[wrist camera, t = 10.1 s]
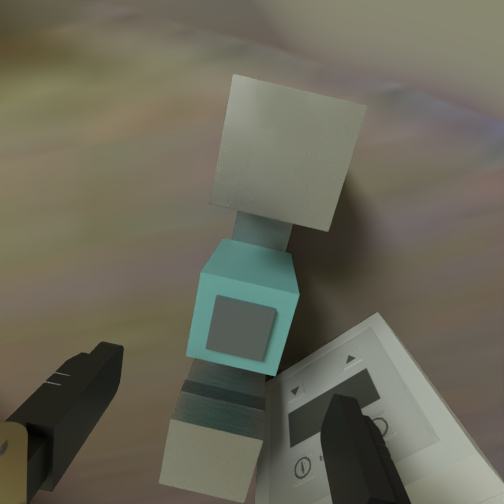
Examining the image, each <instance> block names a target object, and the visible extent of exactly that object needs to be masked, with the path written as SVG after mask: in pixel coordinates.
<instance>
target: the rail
mask: <svg viewBox="0 0 504 504" xmlns="http://www.w3.org/2000/svg"><path fill="white" fill-rule="evenodd" d="M366 109H367V106H366V105H362V104H358V103H353V102H349V101H345V100H341V99H336V98H332V97H328V96H324V95H320V94H315V93H311V92H307V91H303V90H298V89H294V88H290V87H286V86H282V85H277V84H273V83H269V82H265V81H260V80H256V79H252V78H248V77H244V76H239V75H235V74H233V79H232V84H231V90H230V95H229V101H228V106H227V112H226V117H225V123H224V128H223V134H222V139H221V145H220V150H219V156H218V161H217V167H216V172H215V178H214V183H213V189H212V194H211V200H210V204H212V205H217V206H221V207H225V208H229V209H234V210H238V212H237V217H236V221H235V226H234V231H233V235H232V240H234V241H238V242H243V243H247V244H251V245H256V246H260V247H264V248H269V249H273V250H277V251H282V252H286V249H287V245H288V242H289V238H290V234H291V231H292V227H293V224H297V225H301V226H305V227H310V228H314V229H318V230H322V231H327V232H328V231H329V228H330V225H331V222H332V218H333V215H334V212H335V209H336V206H337V202H338V199H339V196H340V193H341V190H342V186H343V183H344V180H345V177H346V173H347V170H348V167H349V164H350V161H351V157H352V154H353V151H354V148H355V145H356V141H357V138H358V135H359V132H360V128H361V125H362V122H363V119H364V116H365V112H366ZM265 402H266V398H265V374H263V373H258V372H254V371H250V370H245V369H241V368H237V367H232V366H228V365H224V364H219V363H215V362H211V361H206V360H202V359H198V358H195V359H194V362H193V364H192V367H191V369H190V372H189V374H188V377H187V379H186V380H185V382H184V384H183V387H182V389H181V392H180V397H179V399H178V402H177V404H176V407H175V409H174V412H173V414H172V417H171V419H170V425H169V430H168V436H167V441H166V447H165V452H164V458H163V463H162V469H161V474H160V480H159V483H160V484H164V485H169V486H173V487H177V488H181V489H186V490H190V491H194V492H198V493H203V494H207V495H211V496H215V497H220V498H224V499H228V500H232V501H237V502H241V503H244V501H245V498H246V495H247V491H248V488H249V485H250V482H251V479H252V475H253V472H254V469H255V466H256V463H257V459H258V456H259V453H260V450H261V446H262V443H263V434H264V413H265Z"/></svg>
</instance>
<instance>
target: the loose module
mask: <svg viewBox="0 0 504 504" xmlns="http://www.w3.org/2000/svg"><path fill="white" fill-rule="evenodd" d="M299 295H300V294H299V290H298V285H297V280H296V275H295V270H294V266H293V261H292V256H291V254H290V253H286V252H282V251H277V250H273V249H269V248H264V247H260V246H256V245H251V244H247V243H243V242H238V241H234V240H230V239H225V238H223V240H222V241H221V243H220V244H219V246H218V247H217V249H216V250H215V252H214V253H213V255H212V256H211V258H210V259H209V261H208V262H207V264H206V265H205V267H204V268H203V270H202V271H201V275H200V281H199V286H198V292H197V297H196V303H195V308H194V314H193V319H192V325H191V331H190V336H189V342H188V347H187V353H186V356H189V357H193V358H198V359H202V360H206V361H211V362H215V363H219V364H224V365H228V366H232V367H237V368H241V369H245V370H250V371H254V372H258V373H263V374H267V375H271V376H276V373H277V370H278V366H279V363H280V359H281V356H282V353H283V349H284V346H285V342H286V339H287V336H288V332H289V329H290V325H291V322H292V319H293V315H294V312H295V309H296V305H297V302H298V298H299Z"/></svg>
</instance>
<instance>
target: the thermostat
mask: <svg viewBox="0 0 504 504" xmlns="http://www.w3.org/2000/svg"><path fill="white" fill-rule="evenodd" d="M334 394H341V395H345V396H350V397H354V398H356V399H357V401H358V403H359V406H360V409H361V411H362V414H363V415H366V416H369V417H370V418H371V419H372V421H373V422H374V423H375V424H376V426H377V427H378V428H379V429H380V432H381V434H382V436H383V439H384V441H385V443H386V447H387V448H388V450H389V453H390V455H391V459H392V460H393V462H394V464H395V467H396V469H397V471H398V474H399V476H400V478H401V481H402V483H403V485H404V488H405V490H406V492H407V495H408V497H409V499H410V502H411V504H504V481H503V480H502V479H501V477H500V476H499V475H498V473H497V472H496V470H495V469H494V468H493V466H492V465H491V464H490V462H489V461H488V459H487V458H486V457H485V455H484V454H483V453H482V451H481V450H480V448H479V447H478V446H477V444H476V443H475V442H474V440H473V439H472V438H471V436H470V435H469V433H468V432H467V431H466V429H465V428H464V427H463V425H462V424H461V422H460V421H459V420H458V418H457V417H456V416H455V414H454V413H453V411H452V410H451V409H450V407H449V406H448V405H447V403H446V402H445V400H444V399H443V398H442V396H441V395H440V394H439V392H438V391H437V389H436V388H435V387H434V385H433V384H432V383H431V381H430V380H429V378H428V377H427V376H426V374H425V373H424V372H423V370H422V369H421V367H420V366H419V365H418V363H417V362H416V361H415V359H414V358H413V356H412V355H411V354H410V352H409V351H408V350H407V348H406V347H405V346H404V344H403V343H402V342H401V340H400V339H399V338H398V336H397V335H396V334H395V332H394V331H393V330H392V329H391V327H390V326H389V325H388V324H387V323H386V321H385V320H384V319H383V318H382V316H381V315H380V314H379V313H378V312H377V313H375V314H373V315H372V316H370V317H369V318H367V319H366V320H364V321H362V322H361V323H359V324H358V325H356V326H354V327H353V328H351V329H350V330H348V331H347V332H345V333H343V334H342V335H340V336H339V337H337V338H335V339H334V340H332V341H331V342H329V343H328V344H326V345H324V346H323V347H321V348H320V349H318V350H316V351H315V352H313V353H312V354H310V355H309V356H307V357H305V358H304V359H302V360H301V361H299V362H297V363H296V364H294V365H293V366H291V367H290V368H288V369H286V370H285V371H283V372H282V373H280V374H278V375H277V376H275V377H274V378H272V379H271V380H269V381H267V382H266V383H265V398H266V402H265V413H264V434H263V443H262V446H261V450H260V453H259V456H258V459H257V475H256V495H255V504H332V498H331V493H330V488H329V483H328V478H327V473H326V468H325V463H324V458H323V453H322V447H321V441H320V432H321V426H322V423H323V420H324V417H325V415H326V412H327V409H328V407H329V404H330V401H331V399H332V396H333V395H334Z"/></svg>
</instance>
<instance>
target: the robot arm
mask: <svg viewBox="0 0 504 504" xmlns="http://www.w3.org/2000/svg"><path fill="white" fill-rule="evenodd" d="M123 351H124V348H123V346H121V345H117V344H112V343H108V342H100V343H99V344H98V345H97V346H96V347H95V349H94V350H93V351H92V352H91V353H90V354H87V353H80V354H78V355H76V356H74V357H72V358H70V359H69V360H67V361H66V362H65V363H64V364H63V365H62V366H61V367H60V368H59V369H58V370H57V371H56V372H55V374H53V375H51V376H50V377H49V378H48V379H47V380H46V383H43V384H42V385H41V386H40V387H39V388H38V389H37V390H36V391H35V392H34V393H33V394H32V395H31V396H30V397H29V398H28V399H27V400H26V401H25V402H24V403H23V404H22V405H21V406H20V407H19V408H18V409H17V410H16V411H15V412H14V413H13V414H12V415H11V416H10V417H9V418H8V419H7V420H6V421H5V422H0V504H29V502H30V501H31V499H32V498H33V497H34V495H35V494H36V492H37V491H38V489H41V490H46V491H51V492H52V491H53V489H54V488H55V486H56V485H57V483H58V482H59V480H60V479H61V477H62V476H63V474H64V473H65V471H66V470H67V468H68V466H69V465H70V463H71V462H72V460H73V459H74V457H75V456H76V454H77V453H78V451H79V450H80V448H81V447H82V445H83V444H84V442H85V440H86V439H87V437H88V436H89V434H90V433H91V431H92V430H93V428H94V427H95V425H96V424H97V422H98V421H99V419H100V418H101V416H102V414H103V413H104V411H105V410H106V408H107V407H108V405H109V404H110V402H111V401H112V399H113V398H114V396H115V394H116V392H117V389H118V386H119V383H120V378H121V369H122V360H123ZM320 441H321V447H322V453H323V458H324V463H325V468H326V473H327V478H328V483H329V488H330V493H331V498H332V504H411V502H410V499H409V497H408V495H407V492H406V490H405V488H404V485H403V483H402V481H401V478H400V476H399V474H398V471H397V469H396V467H395V464H394V462H393V460H392V459H391V455H390V453H389V450H388V448H387V447H386V443H385V441H384V439H383V436H382V434H381V432H380V429H379V428H378V427H377V426H376V424H375V423H374V422H373V421H372V419H371V418H370V417H369V416H366V415H363V414H362V411H361V409H360V406H359V403H358V401H357V399H356V398H354V397H350V396H345V395H341V394H334V395H333V396H332V399H331V401H330V404H329V407H328V409H327V412H326V415H325V417H324V420H323V423H322V426H321V432H320Z"/></svg>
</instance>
